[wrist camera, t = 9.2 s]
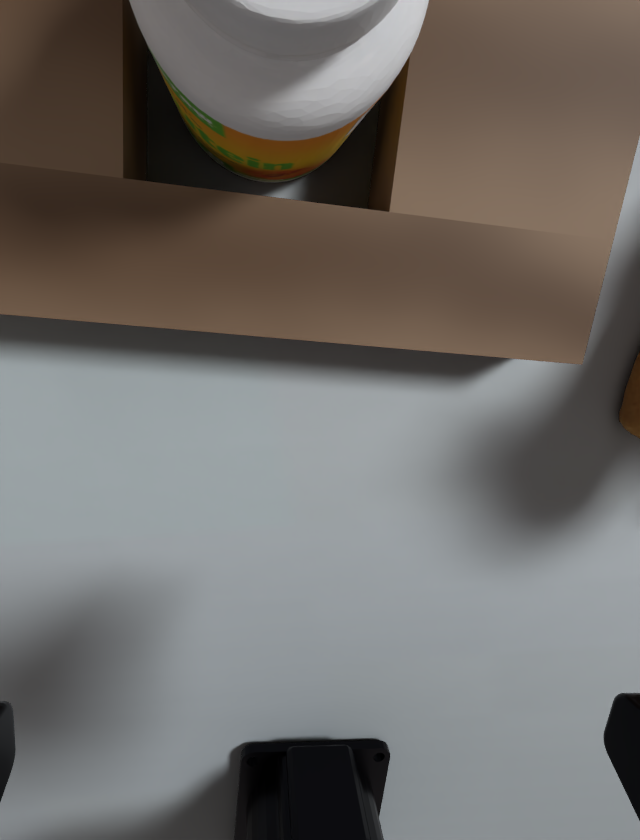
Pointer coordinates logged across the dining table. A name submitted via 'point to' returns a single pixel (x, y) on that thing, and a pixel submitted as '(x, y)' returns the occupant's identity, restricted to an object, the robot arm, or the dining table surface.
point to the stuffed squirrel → (632, 402)
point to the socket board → (324, 223)
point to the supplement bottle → (277, 73)
